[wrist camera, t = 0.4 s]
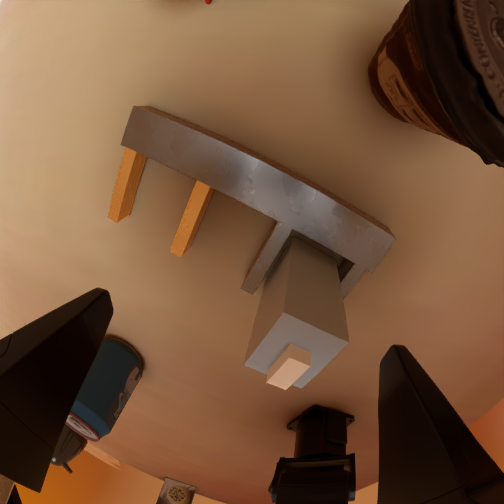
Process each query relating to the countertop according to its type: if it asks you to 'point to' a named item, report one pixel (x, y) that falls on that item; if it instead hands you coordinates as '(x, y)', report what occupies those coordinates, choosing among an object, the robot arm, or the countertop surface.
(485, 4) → the coffee cup
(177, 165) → the grey comb shape
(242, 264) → the countertop surface
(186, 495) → the coffee box
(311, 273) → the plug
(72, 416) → the soda can
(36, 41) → the countertop surface
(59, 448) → the pump dispenser
